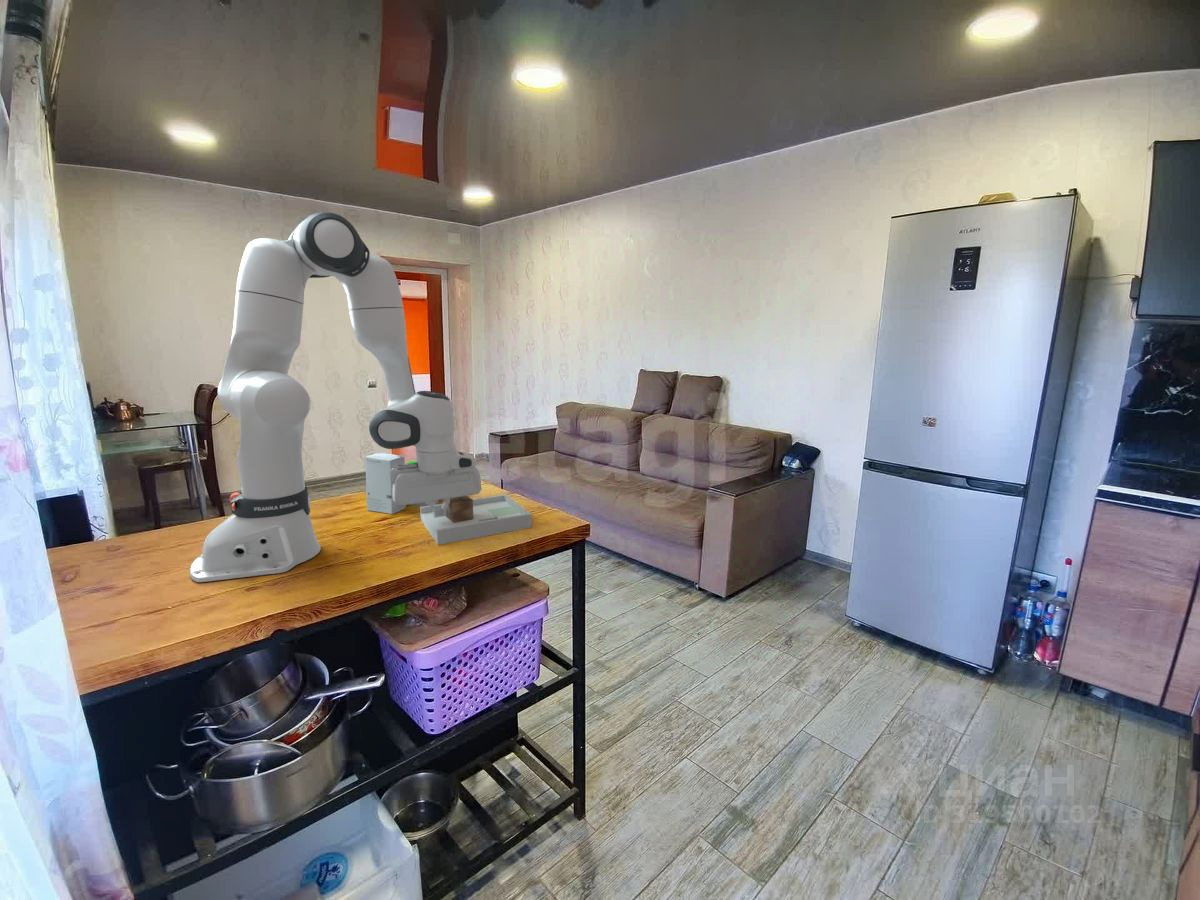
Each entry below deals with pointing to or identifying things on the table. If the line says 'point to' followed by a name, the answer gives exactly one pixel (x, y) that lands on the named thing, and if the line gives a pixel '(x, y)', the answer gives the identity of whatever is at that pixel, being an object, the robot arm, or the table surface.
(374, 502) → the skincare box
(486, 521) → the platform
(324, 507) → the table surface
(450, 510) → the walnut block
